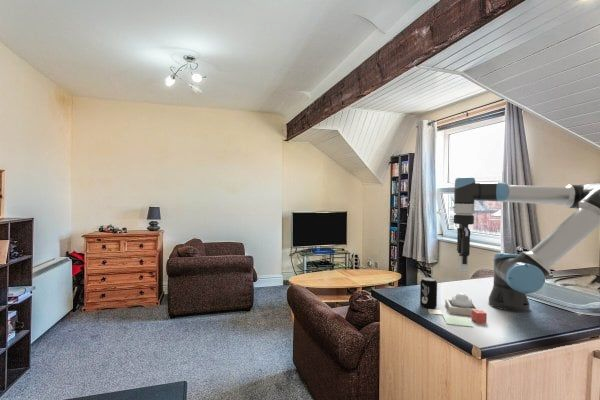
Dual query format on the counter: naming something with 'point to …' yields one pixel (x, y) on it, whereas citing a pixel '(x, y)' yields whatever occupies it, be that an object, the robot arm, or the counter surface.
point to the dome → (462, 300)
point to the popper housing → (459, 308)
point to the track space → (435, 312)
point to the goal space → (457, 321)
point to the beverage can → (428, 293)
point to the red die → (479, 316)
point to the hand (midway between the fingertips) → (462, 270)
